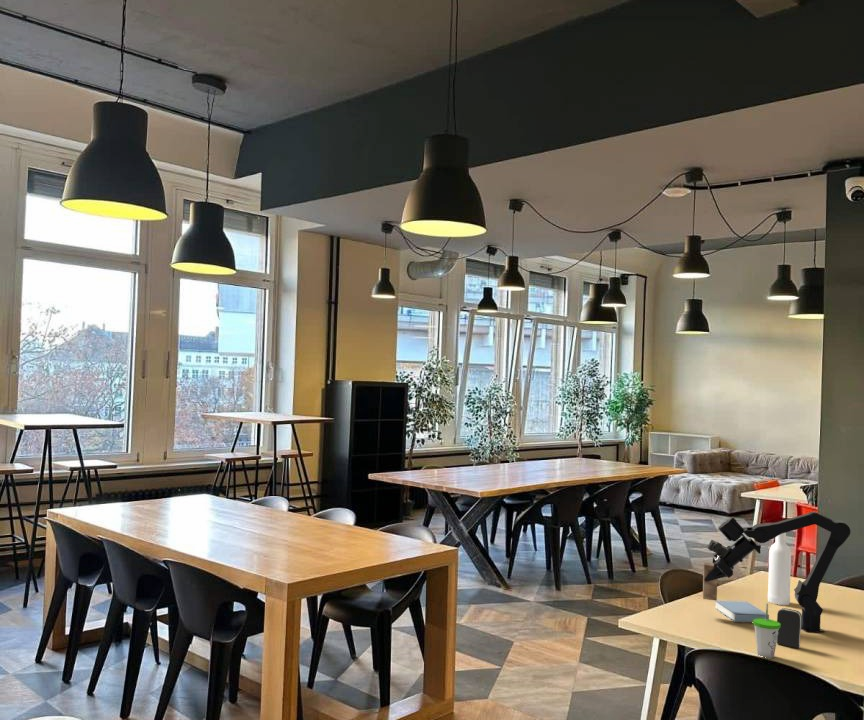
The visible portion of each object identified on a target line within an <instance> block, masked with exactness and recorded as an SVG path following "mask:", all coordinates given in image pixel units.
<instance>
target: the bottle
mask: <svg viewBox="0 0 864 720" xmlns="http://www.w3.org/2000/svg"><path fill="white" fill-rule="evenodd" d="M786 534H787V532H786V533H782V534H780V535H778V536H777V537H775V538H774V540H775V541H774V543H773V544H771V545H770V549H769V551H768V576H767V577H768V581H767V582H768V584H767V588H768V589H767V602H768V603H769V602H770V603H769V604H772V603H773V605H776V604H778V605H777V606H789V605H790V601H791V573H792V572H791V571H792V570H791V568H792V565H791V564H792V562H791V561H792V551H791V547H790V546H788V544H787V543H786V538H787V537H786V536H787V535H786Z"/></svg>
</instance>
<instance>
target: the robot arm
mask: <svg viewBox="0 0 864 720" xmlns="http://www.w3.org/2000/svg"><path fill="white" fill-rule="evenodd" d="M812 525H816V526H818V527H820V528H822V529H824V530H826V534H825V539H824V544H823V546H822V547H821V550H820V552H819V553H818V555H817V558H816V559H815V561H814V564H813V565H812V568H811V570H810V572H809V573H808V575H807V578H805V580H804V581H801V580H800V579H799V580H798V582H797V585H796V587H795V588H794V589H793V591H794V599H795V601H796V602H797V603H798V605H799V606H800V607H801V616H802V627H801V630H802V631H805V632H806V633H807V632H808V633H825V630H824V629H822V628H821V617H822V616H821V615H822V614H823V612H824V609H823V608H822V606H821V605H820V603H819V602H817V599H818V596H819V590H820V585H821V583H822V580H823V578H824V577H825V575H826V573H827V571H828V568H829V567H830V565H831V562H832V561H833V559H834V556H835V555H836V553H837V551H838V550H839V548H840V547H841V546H842V545H843V544H845V542H846V541H847V540H848V538H849V537H850V535H851V529H850V526H849V525H848V524H847V523H845V522H844V521H842V520H840V519H831V518H829V517H827V516H824V515H822V514H821V513H820V514H819V512H816V511H814V510H812V511H810V512H807V513H804V514H801V515H798V516H795V517H790V518H787V519H784V520H780V521H777V522H776V521H775V522H765V523H758V524H754V525H753V526H746V527H744V526H742V525H741V524H740V523H739V522H738V521H737V520H736V518H735V517H734V516H731V517H730V518H729V519H726V521H723V522H722V523H721V524H720V525H719V526H718V528H717V529H718V531H719V532H721V534H722V535H723V536H724V537H725V538H726V539H727V540H728V541H729V542H730V541H731V542H734V543H733V544H732V545H728V546H727V547H726V546H724V545H723V544H722V543H720V542H719V541H716V540H714V539H710V541H709V543H708V545H707V550H709V551H710V552H713V554H712V555H713V556H712V563H714V568H713V569H712V570H711V572H710V573H709V574H708V575H707V576H706V577H705V579H704V580H705V581H706V582H707V581H711V580H715V579H717V580H718V579H719V580H720V579H723V578H728V579H730V578H731V577H732V576H733V575H734V569H735V567H736V566H737V564H739V563H742V562H744V559H745V558H746V557H747V556H749V555H750V554H752V553H753V552H754V551H756V553H758V554H761V552H762V551H761V549H762V548H761V547H762V545H761V544H764V543H765V544H766V543H767V542H769V541H771V540H773V539H775V537H777V536H778V535H780V534H782V533H786V534H787V533H788V532H792V531H795V530H799V529H803V528H806V527H810V526H812ZM756 542H757V543H756ZM758 543H759V544H758Z"/></svg>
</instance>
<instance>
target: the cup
mask: <svg viewBox="0 0 864 720" xmlns="http://www.w3.org/2000/svg"><path fill="white" fill-rule="evenodd" d="M765 613H766V619H763V618H757V619H754V620H753V623H752V624H753V625H754V634H755V644H756V653H757V654H758V655H760V656H763V657H766V658H771V659H772V660H773V659H774V658H775V653H776V649H777V637H778V632H779V628H780V627H781V624H780V623H779V622H777V620H774V619H770V618H769V619H768V615H769V603H765ZM757 654H756V655H757ZM758 655H757V656H758ZM766 658H765V659H766ZM771 659H770V660H771Z"/></svg>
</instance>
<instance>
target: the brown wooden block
mask: <svg viewBox="0 0 864 720" xmlns="http://www.w3.org/2000/svg"><path fill="white" fill-rule="evenodd" d="M713 568H714V563H713V562H712V563H711V562H705V561H704V562H703V575H702V576H703V577H702V600H707V601H708V600H709V601H715V600H716V601H718V579H715V580H711V581H707V582H706V581H705V580H704V579H705V577H706V576H707V575H708V574H709V573H710V572H711V570H712V569H713ZM716 601H715V602H716Z"/></svg>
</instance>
